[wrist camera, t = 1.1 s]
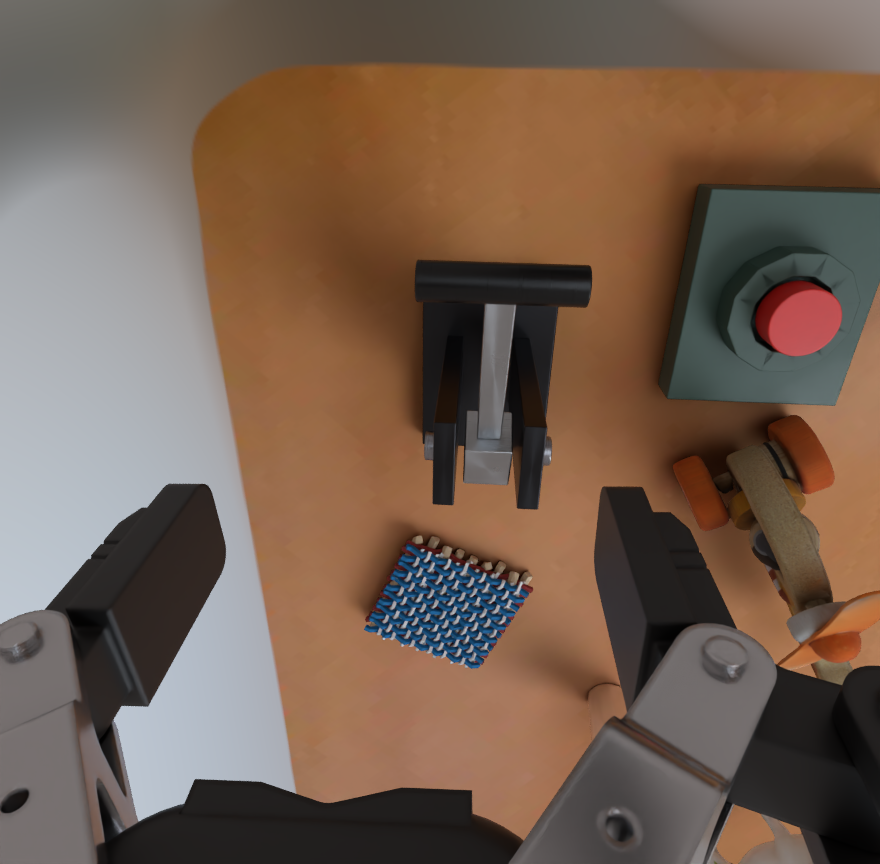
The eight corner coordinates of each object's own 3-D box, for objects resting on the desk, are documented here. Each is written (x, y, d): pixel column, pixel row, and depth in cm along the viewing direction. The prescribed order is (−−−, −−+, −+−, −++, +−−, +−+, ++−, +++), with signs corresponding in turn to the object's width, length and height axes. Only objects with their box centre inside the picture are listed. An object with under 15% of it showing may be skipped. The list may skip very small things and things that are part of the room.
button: (764, 278, 32) (778, 287, 30) (835, 281, 32) (853, 290, 30) (747, 344, 34) (759, 355, 32) (813, 346, 33) (830, 358, 32)
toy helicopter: (783, 386, 39) (919, 515, 26) (858, 606, 46) (990, 782, 34) (657, 439, 41) (730, 580, 29) (750, 639, 49) (838, 815, 37)
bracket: (424, 275, 37) (398, 350, 25) (558, 279, 36) (592, 358, 25) (424, 435, 42) (402, 557, 31) (541, 441, 41) (562, 566, 30)
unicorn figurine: (844, 732, 53) (946, 910, 41) (718, 844, 62) (772, 1016, 50) (772, 709, 52) (856, 884, 41) (655, 825, 61) (696, 996, 50)
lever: (418, 243, 22) (412, 287, 20) (589, 247, 21) (595, 293, 20) (428, 442, 31) (424, 481, 30) (545, 447, 31) (547, 487, 30)
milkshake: (638, 672, 51) (670, 789, 42) (629, 714, 54) (658, 833, 45) (583, 669, 52) (604, 785, 43) (577, 711, 54) (595, 829, 45)
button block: (698, 183, 33) (723, 192, 30) (887, 188, 33) (935, 198, 29) (657, 384, 39) (674, 412, 35) (817, 391, 39) (851, 419, 35)
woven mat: (480, 658, 52) (480, 678, 50) (364, 617, 50) (359, 635, 48) (538, 573, 47) (540, 592, 45) (410, 525, 46) (408, 542, 44)
